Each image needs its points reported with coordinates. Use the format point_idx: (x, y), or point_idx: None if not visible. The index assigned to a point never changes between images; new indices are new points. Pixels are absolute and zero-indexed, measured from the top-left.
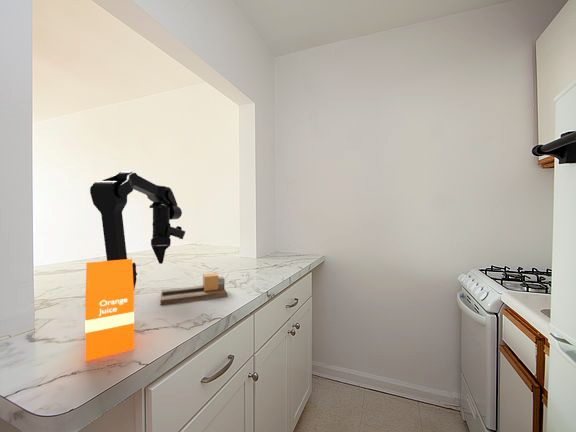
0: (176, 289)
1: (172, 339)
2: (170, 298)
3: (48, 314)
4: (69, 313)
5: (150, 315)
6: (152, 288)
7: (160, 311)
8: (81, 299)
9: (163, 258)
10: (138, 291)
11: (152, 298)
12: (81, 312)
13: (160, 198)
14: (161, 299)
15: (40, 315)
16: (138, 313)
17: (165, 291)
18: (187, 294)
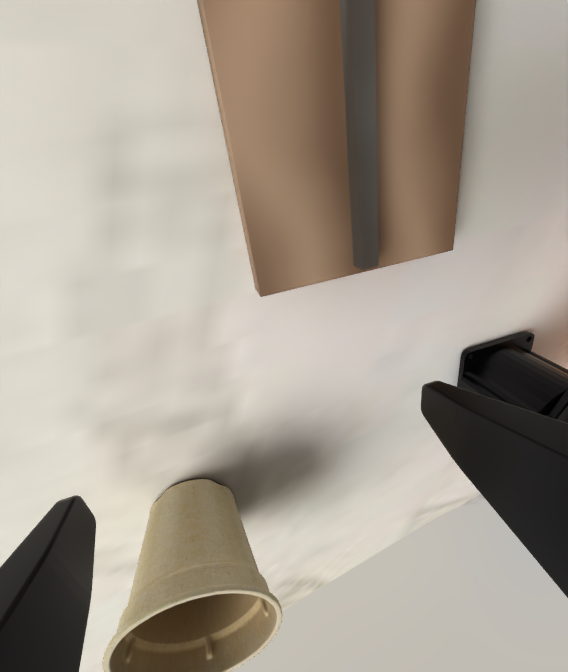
0: (265, 186)
1: None
2: (446, 198)
3: (378, 541)
4: (391, 504)
5: (533, 257)
6: (109, 376)
7: (514, 225)
8: (258, 556)
9: (517, 407)
10: (173, 425)
11: (320, 313)
12: (396, 481)
13: None
14: (441, 248)
15: (378, 550)
16: (490, 310)
17: (365, 250)
18: (414, 79)
